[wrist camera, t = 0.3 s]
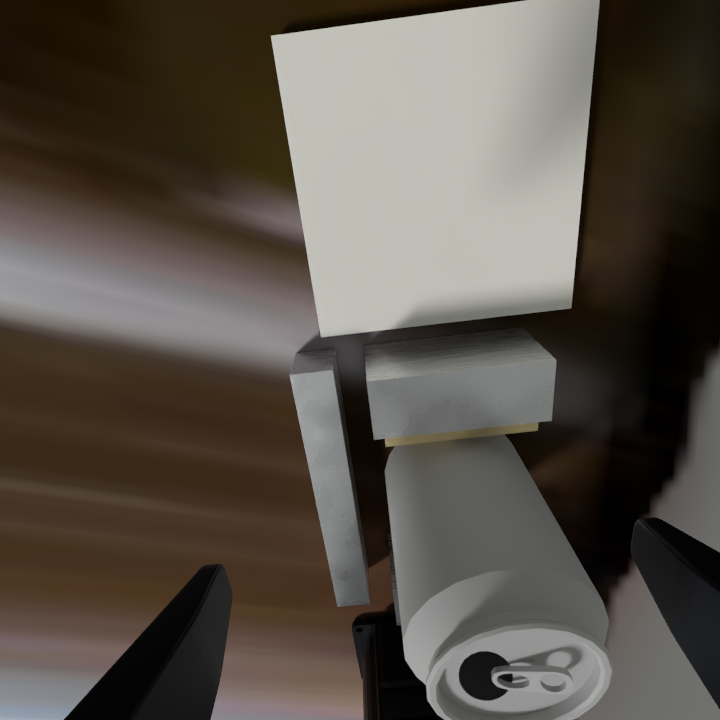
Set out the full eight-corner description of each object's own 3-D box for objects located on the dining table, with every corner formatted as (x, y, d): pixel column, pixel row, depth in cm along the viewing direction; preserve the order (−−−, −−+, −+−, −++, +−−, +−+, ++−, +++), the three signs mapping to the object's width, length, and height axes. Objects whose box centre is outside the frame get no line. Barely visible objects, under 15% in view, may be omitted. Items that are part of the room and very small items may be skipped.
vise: (512, 554, 28) (536, 612, 25) (338, 571, 29) (336, 631, 25) (522, 327, 22) (556, 360, 18) (296, 353, 22) (285, 390, 18)
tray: (563, 303, 21) (571, 308, 20) (322, 331, 21) (321, 337, 21) (589, -3, 16) (600, -10, 15) (274, 41, 17) (270, 35, 16)
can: (368, 425, 24) (383, 645, 13) (503, 393, 23) (637, 596, 12) (399, 522, 27) (432, 767, 16) (519, 496, 26) (638, 733, 15)
